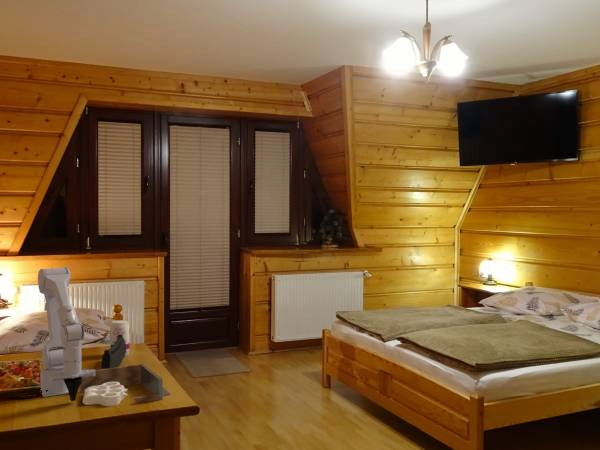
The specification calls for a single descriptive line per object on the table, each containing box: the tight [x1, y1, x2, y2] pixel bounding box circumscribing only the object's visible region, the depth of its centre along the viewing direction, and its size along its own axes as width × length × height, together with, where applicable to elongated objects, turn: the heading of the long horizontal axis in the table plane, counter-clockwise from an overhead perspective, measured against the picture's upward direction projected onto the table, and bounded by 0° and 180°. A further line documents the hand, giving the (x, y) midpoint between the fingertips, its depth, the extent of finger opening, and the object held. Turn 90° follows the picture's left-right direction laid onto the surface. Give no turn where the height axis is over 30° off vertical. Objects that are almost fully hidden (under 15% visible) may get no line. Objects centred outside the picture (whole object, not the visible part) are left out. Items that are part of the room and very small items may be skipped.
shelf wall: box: [79, 363, 159, 405], centre depth 204 cm, size 23×23×7 cm
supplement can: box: [109, 319, 131, 358], centre depth 260 cm, size 8×8×15 cm
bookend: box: [140, 363, 172, 401], centre depth 211 cm, size 5×23×7 cm, turn 31°
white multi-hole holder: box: [82, 382, 129, 407], centre depth 202 cm, size 3×18×15 cm
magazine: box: [100, 335, 126, 370], centre depth 239 cm, size 17×3×30 cm
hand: (72, 400), depth 197 cm, fingers closed
